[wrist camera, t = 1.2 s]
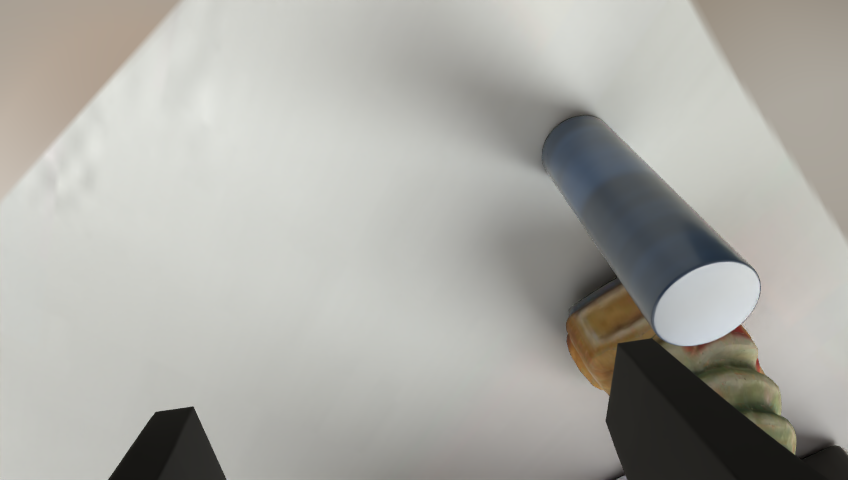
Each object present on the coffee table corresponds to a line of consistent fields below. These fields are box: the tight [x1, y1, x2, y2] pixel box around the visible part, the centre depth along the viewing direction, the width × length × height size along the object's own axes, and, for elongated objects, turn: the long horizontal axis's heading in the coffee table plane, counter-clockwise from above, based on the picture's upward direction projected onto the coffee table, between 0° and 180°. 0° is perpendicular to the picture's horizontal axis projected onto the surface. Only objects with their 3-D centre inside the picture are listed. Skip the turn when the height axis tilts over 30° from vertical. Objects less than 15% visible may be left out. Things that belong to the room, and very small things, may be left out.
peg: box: [542, 116, 761, 346], centre depth 16 cm, size 2×2×8 cm
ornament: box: [566, 278, 796, 455], centre depth 20 cm, size 8×6×10 cm
